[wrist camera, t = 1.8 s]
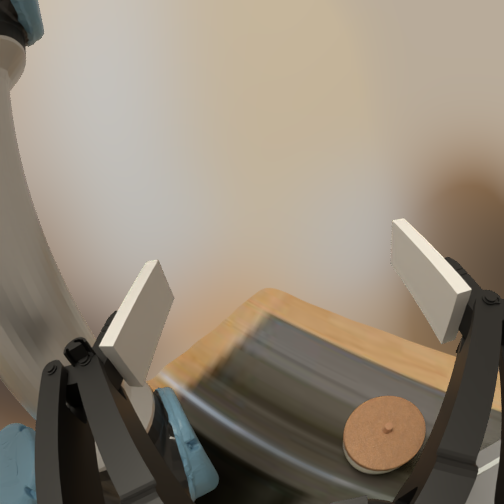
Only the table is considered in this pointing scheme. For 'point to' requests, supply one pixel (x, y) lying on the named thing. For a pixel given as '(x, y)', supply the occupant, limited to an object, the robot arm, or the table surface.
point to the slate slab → (485, 476)
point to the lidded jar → (383, 434)
